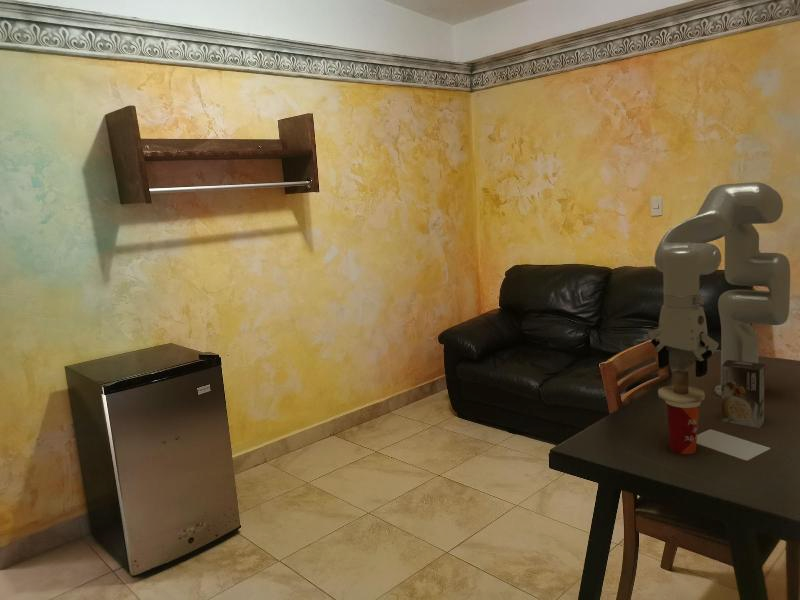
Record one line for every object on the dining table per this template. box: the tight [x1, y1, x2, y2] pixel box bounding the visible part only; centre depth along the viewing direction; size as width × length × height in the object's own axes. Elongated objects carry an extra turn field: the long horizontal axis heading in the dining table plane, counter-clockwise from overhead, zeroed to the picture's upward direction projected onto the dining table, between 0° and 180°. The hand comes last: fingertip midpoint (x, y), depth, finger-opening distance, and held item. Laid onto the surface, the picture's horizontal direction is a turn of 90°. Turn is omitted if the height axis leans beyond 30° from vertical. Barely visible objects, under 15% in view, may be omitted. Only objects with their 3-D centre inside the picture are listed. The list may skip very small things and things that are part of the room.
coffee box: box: [720, 360, 766, 429], centre depth 153 cm, size 9×6×16 cm
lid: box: [657, 369, 705, 404], centre depth 139 cm, size 10×10×6 cm
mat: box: [696, 429, 772, 462], centre depth 142 cm, size 10×15×1 cm, turn 30°
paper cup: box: [664, 400, 702, 455], centre depth 140 cm, size 8×8×14 cm
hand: (681, 370), depth 139 cm, fingers open, 9 cm apart
